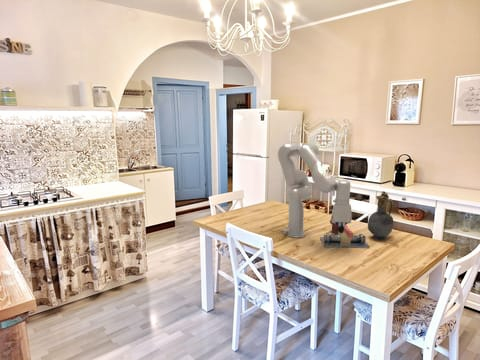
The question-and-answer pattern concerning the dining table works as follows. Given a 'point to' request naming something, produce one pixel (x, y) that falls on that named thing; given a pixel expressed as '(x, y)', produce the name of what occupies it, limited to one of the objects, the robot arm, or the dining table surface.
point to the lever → (348, 232)
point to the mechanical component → (334, 226)
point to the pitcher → (381, 218)
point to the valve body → (344, 241)
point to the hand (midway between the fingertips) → (340, 232)
